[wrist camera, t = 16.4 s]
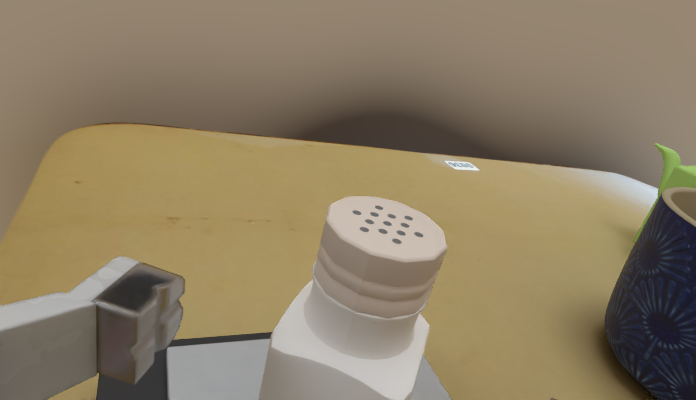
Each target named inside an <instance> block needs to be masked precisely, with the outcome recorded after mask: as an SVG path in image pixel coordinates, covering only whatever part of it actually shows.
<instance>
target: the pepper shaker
mask: <svg viewBox="0 0 696 400" xmlns="http://www.w3.org/2000/svg"><path fill="white" fill-rule="evenodd" d="M446 250H447V244H446V240H445V236H444V232H443V230H442V229H441V228H440V227H439V226H438V225H437V224H436V223H434V222H433V221H432V220H431V219H430V218H429V217H428V216H427V215H425V214H423V213H421V212H419V211H417V210H415V209H413V208H411V207H409V206H406V205H404V204H402V203H400V202H396V201H391V200H387V199H383V198H378V197H374V196H349V197H345V198H343V199H341V200H339V201H336V202H334V203H332V204H330V205H329V208H328V212H327V216H326V221H325V225H324V230H323V234H322V238H321V242H320V246H319V251H318V255H317V259H316V261H315V263H314V265H313V268H312V278H313V280H311V281H310V282H309V283H308V284H307V285H306V286H305V287H304V288H303V289H302V290H301V292H300V293H299V294H298V295H297V297H296V298H295V299H294V301H293V302H292V303H291V305H290V306H289V307H288V309H287V310H286V312H285V313H284V315H283V316H282V318H281V319H280V321H279V323H278V324H277V326H276V327H275V329H274V330H273V332H272V334H271V338H270V343H269V348H268V353H267V358H266V363H265V368H264V373H263V378H262V383H261V388H260V393H259V398H258V400H410V399H411V396H412V393H413V390H414V386H415V383H416V379H417V376H418V372H419V369H420V365H421V362H422V358H423V354H424V350H425V346H426V342H427V338H428V333H429V325H428V323H427V322H426V320H425V319H424V318H423V317H422V316H421V314H420V313H421V312H422V311H423V309H424V307H425V306H426V304H427V301H428V299H429V296H430V293H431V291H432V288H433V286H432V285H433V284H434V283H435V280H436V277H437V274H438V273H437V271H438V270H439V269H440V266H441V264H442V261H443V258H444V256H445V253H446Z"/></svg>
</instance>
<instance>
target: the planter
mask: <svg viewBox="0 0 696 400" xmlns="http://www.w3.org/2000/svg"><path fill="white" fill-rule="evenodd" d="M605 332H606V336H607V339H608V342H609V344H610V347H611V348H612V350H613V352H614V354H615V356H616V357H617V359H618V360H619V362H620V363H621V364H622V365H623V367H624V368H625V369H626V370H627V371H628V372H629V373H630V375H631V376H632V377H633V378H634V379H635V380H636V381H637V382H638V383H639V384H640V385H642V386H643V387H644V388H645V389H646V390H647V391H649V392H650V393H651V394H652V395H653V396H655V397H656V398H658V399H659V400H696V189H695V188H687V187H672V188H668V189H665V190H664V191H663V192H662V193H661V195H660V197H659V199H658V201H657V203H656V205H655V207H654V209H653V210H652V212H651V214H650V216H649V218H648V220H647V222H646V224H645V226H644V228H643V230H642V232H641V234H640V236H639V237H638V239H637V241H636V243H635V245H634V247H633V249H632V251H631V253H630V255H629V257H628V259H627V261H626V263H625V265H624V267H623V270H622V272H621V274H620V276H619V278H618V280H617V282H616V285H615V287H614V290H613V292H612V295H611V298H610V300H609V303H608V306H607V310H606V315H605Z"/></svg>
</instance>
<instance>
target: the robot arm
mask: <svg viewBox="0 0 696 400" xmlns="http://www.w3.org/2000/svg"><path fill="white" fill-rule="evenodd" d="M184 292H185V279H184V278H183V277H182V276H180V275H177V274H174V273H171V272H168V271H166V270H163V269H160V268H157V267H154V266H151V265H149V264H146V263H141V262H139V261H136V260H133V259H131V258H128V257H125V256H119V257H115V258H114V259H113V260H111V261H110V262H109V263H107V264H106V265H105V266H103V267H102V268H101V269H99V270H98V271H96V272H95V273H94V274H92V275H91V276H90V277H88V278H87V279H86V280H84V281H83V282H82V283H80V284H79V285H78V286H76V287H75V288H73V289H72V290H71V291H69V292H68V293H67V294H66V293H63V292H56V293H52V294H48V295H44V296H40V297H35V298H31V299H27V300H23V301H19V302H15V303H10V304H6V305H2V306H0V400H46V399H48V398H50V397H52V396H54V395H56V394H58V393H60V392H63V391H65V390H67V389H69V388H71V387H73V386H75V385H77V384H79V383H81V382H83V381H85V380H87V379H89V378H92V377H94V376H96V375H97V373H99V374H103V375H106V376H109V377H112V378H115V379H118V380H121V381H124V382H127V383H130V384H133V385H135V384H136V383H137V382H138V381H139V379H140V378H141V377H142V376H143V375H144V374H145V372H146V371H147V370H148V369H149V368H150V367H151V365H152V364H153V363H154V353H155V352H158V351H161V350H163V349H166V348H167V346H168V345H169V344H170V343H171V341H172V340H173V339H174V337H175V335H176V333H177V331H178V329H179V327H180V323H181V320H182V315H183V307H182V305H181V303H180V302H179V300H178V299H179V298H180V297H181V296H182V295H183V293H184ZM550 400H557V399H554V398H551V399H550Z"/></svg>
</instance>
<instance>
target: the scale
mask: <svg viewBox="0 0 696 400" xmlns="http://www.w3.org/2000/svg"><path fill="white" fill-rule="evenodd" d="M271 334H272V332H269V333H256V334H243V335H230V336H218V337H205V338H192V339H179V340H172V341H171V343H170V344H169V345H168V346H167V348H166V349H163V350H161V351H158V352H155V353H154V363H153V364H152V365H151V367H150V368H149V369H148V370H147V371H146V372H145V374H144V375H143V376H142V377H141V378H140V379H139V381H138V382H137V383H136V384H135V385H133V384H130V383H127V382H124V381H121V380H118V379H115V378H112V377H109V376H106V375H103V374H99V379H98V388H97V397H96V400H258V398H259V393H260V388H261V383H262V378H263V373H264V368H265V363H266V358H267V353H268V348H269V343H270V338H271ZM410 400H452V399H451V398H450V396H449V395H448V393H447V391H446V390H445V388H444V387H443V385H442V383H441V382H440V380H439V379H438V377H437V375H436V374H435V372H434V371H433V369H432V368H431V366H430V364H429V363H428V361H427V360H426V358H425V356H424V355H423V358H422V362H421V365H420V369H419V372H418V376H417V379H416V383H415V386H414V390H413V393H412V396H411V399H410Z"/></svg>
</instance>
